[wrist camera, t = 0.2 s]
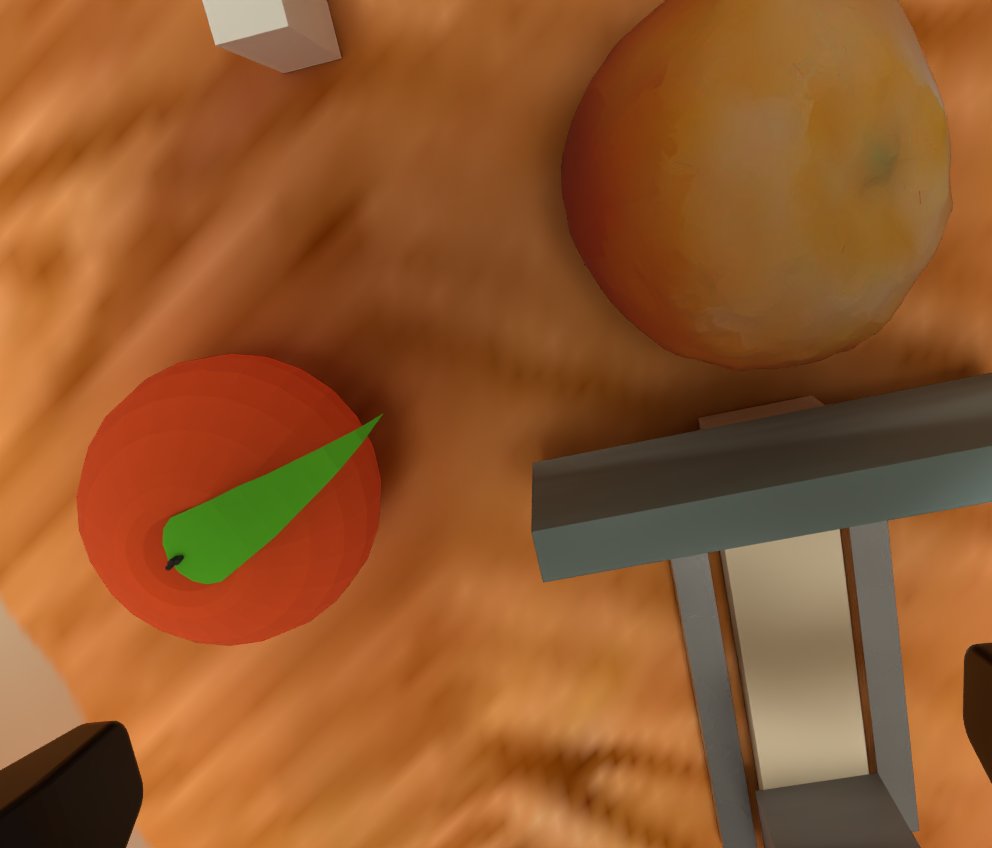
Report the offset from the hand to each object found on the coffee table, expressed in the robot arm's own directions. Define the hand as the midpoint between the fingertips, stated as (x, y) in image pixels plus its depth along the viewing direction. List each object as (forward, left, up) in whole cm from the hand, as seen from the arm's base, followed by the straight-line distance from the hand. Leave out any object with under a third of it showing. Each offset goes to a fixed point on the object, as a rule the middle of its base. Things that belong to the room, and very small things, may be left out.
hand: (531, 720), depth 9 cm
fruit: (+4, -6, -15) cm, 16 cm away
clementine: (0, +7, -14) cm, 16 cm away
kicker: (-9, -6, -14) cm, 17 cm away
